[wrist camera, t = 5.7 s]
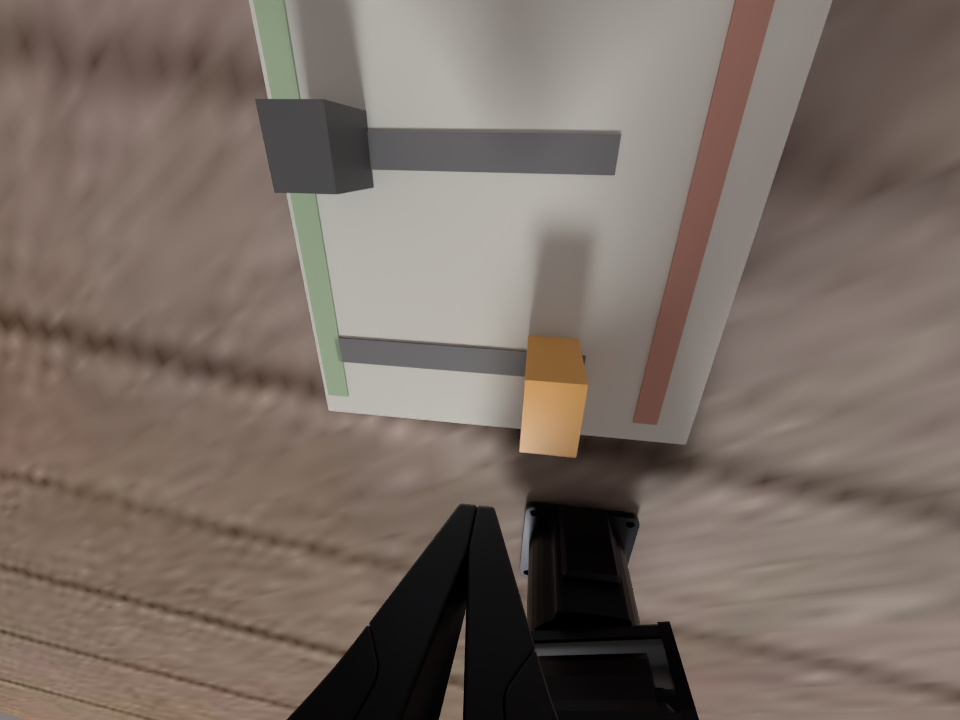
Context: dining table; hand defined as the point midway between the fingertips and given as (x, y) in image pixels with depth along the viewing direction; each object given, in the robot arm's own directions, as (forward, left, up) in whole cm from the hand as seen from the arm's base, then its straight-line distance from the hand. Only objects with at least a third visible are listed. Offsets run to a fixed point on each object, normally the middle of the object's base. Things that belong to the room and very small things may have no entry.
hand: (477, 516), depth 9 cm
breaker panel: (+7, 0, -10) cm, 13 cm away
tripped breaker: (0, -2, -8) cm, 8 cm away
